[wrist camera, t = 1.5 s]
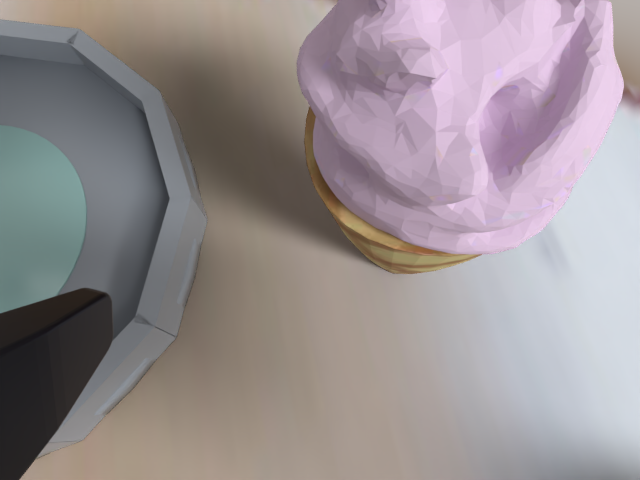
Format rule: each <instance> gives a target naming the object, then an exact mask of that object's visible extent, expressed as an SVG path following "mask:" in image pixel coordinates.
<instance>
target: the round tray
mask: <svg viewBox="0 0 640 480" xmlns="http://www.w3.org/2000/svg"><path fill="white" fill-rule="evenodd" d="M207 221H208V220H207V216H206V212H205V209H204V206H203V203H202V199H201V196H200V191H199V186H198V182H197V178H196V173H195V169H194V166H193V164H192V161H191V159H190V156H189V154H188V151H187V149H186V146H185V144H184V141H183V138H182V134H181V131H180V128H179V125H178V122H177V121H176V119H175V117H174V115H173V114H172V112H171V110H170V108H169V107H168V105H167V103H166V101H165V100H164V98H163V96H162V94H161V93H160V91H159V90H158V89H156V88H155V87H154V86H153V85H151V84H150V83H149V82H147V81H146V80H145V79H144V78H142V77H141V76H140V75H138V74H137V73H136V72H135V71H133V70H132V69H131V68H129V67H128V66H127V65H126V64H124V63H123V62H122V61H120V60H119V59H118V58H116V57H115V56H114V55H113V54H111V53H110V52H109V51H107V50H106V49H105V48H104V47H102V46H101V45H100V44H98V43H97V42H96V41H95V40H93V39H92V38H91V37H89V36H88V35H87V34H86V33H84V32H83V31H82V30H80V29H75V28H67V27H59V26H50V25H42V24H34V23H25V22H17V21H9V20H0V313H3V312H6V311H9V310H12V309H16V308H19V307H22V306H25V305H29V304H32V303H35V302H38V301H41V300H45V299H48V298H51V297H54V296H58V295H61V294H64V293H67V292H70V291H74V290H77V289H80V288H92V289H95V290H99V291H103V292H106V293H108V294H109V295H110V296H111V299H112V309H113V340H112V344H111V346H110V348H109V350H108V352H107V353H106V355H105V357H104V358H103V360H102V361H101V363H100V365H99V366H98V368H97V369H96V371H95V372H94V374H93V376H92V377H91V379H90V380H89V382H88V384H87V385H86V387H85V388H84V390H83V392H82V393H81V395H80V396H79V398H78V400H77V401H76V403H75V404H74V406H73V407H72V409H71V411H70V412H69V414H68V415H67V417H66V418H65V420H64V421H63V423H62V424H61V426H60V427H59V429H58V430H57V432H56V433H55V434H54V436H53V437H52V438H51V440H50V441H49V442H48V444H47V445H46V446H45V448H44V449H43V450H42V451H41V453H40V454H39V455H38V456H37V458H36V459H38V458H40V457H42V456H44V455H47V454H49V453H51V452H53V451H55V450H58V449H61V448H64V447H66V446H69V445H72V444H74V443H77V442H80V441H82V440H83V439H84V438H85V437H86V436H87V435H88V434H89V433H90V432H91V431H92V429H93V428H94V427H95V426H96V425H97V424H98V423H99V422H100V421H101V420H102V419H103V417H104V416H105V415H106V414H108V413H109V412H110V411H111V410H112V409H113V408H114V407H115V406H116V405H117V404H118V403H119V402H120V401H121V400H122V399H123V398H124V397H125V396H126V395H127V394H128V393H129V392H130V391H131V390H132V389H133V388H134V387H135V386H136V384H137V383H138V382H139V381H140V379H141V378H142V377H143V376H144V375H145V373H146V372H147V371H148V370H149V368H150V367H151V366H152V365H153V363H154V362H155V360H156V359H157V358H158V357H159V356H160V355H161V354H162V353H163V352H164V351H165V350H166V348H167V347H168V346H169V345H170V344H171V343H172V342H173V341H174V340H175V339H176V337H177V334H178V330H179V327H180V323H181V319H182V315H183V312H184V308H185V306H186V303H187V300H188V297H189V294H190V291H191V288H192V285H193V282H194V279H195V275H196V270H197V265H198V259H199V254H200V249H201V243H202V240H203V236H204V232H205V228H206V225H207Z"/></svg>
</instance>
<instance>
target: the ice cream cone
mask: <svg viewBox="0 0 640 480" xmlns="http://www.w3.org/2000/svg"><path fill="white" fill-rule="evenodd" d="M297 76H298V81H299V84H300V88H301V91H302V94H303V95H304V97H305V98H306V100H307V101H308V103H309V105H310V107H309V110H308V114H307V118H306V127H305V139H304V144H305V152H306V161H307V167H308V170H309V173H310V175H311V178H312V181H313V184H314V187H315V189H316V190H317V192H318V194H319V195H320V197H321V198H322V200H323V202H324V203H325V205H326V206H327V208H328V210H329V211H330V213H331V214H332V216H333V217H334V219H335V220H336V222H337V223H338V225H339V227H340V228H341V230H342V231H343V233H344V234H345V236H346V237H347V238H348V239H349V240H350V241H351V242H352V243H353V244H354V245H355V246H356V247H357V248H358V249H359V250H360V251H361V252H362V253H363V254H364V255H365V256H366V257H367V258H368V259H370V260H371V261H372V262H373V263H375V264H377V265H378V266H380V267H381V268H383V269H385V270H387V271H389V272H391V273H397V274H415V273H423V272H430V271H436V270H439V269H443V268H447V267H450V266H453V265H457V264H460V263H463V262H466V261H469V260H471V259H473V258H476V257H478V256H480V255H482V254H494V253H498V252H502V251H506V250H509V249H513V248H516V247H517V246H519V245H520V244H522V243H523V242H524V241H526V240H527V239H529V238H530V237H532V236H534V235H536V234H537V233H539V232H540V231H541V230H543V229H544V228H545V226H546V225H547V224H548V223H549V222H550V220H551V219H552V218H553V217H554V216H555V214H556V213H557V212H558V211H559V210H560V208H561V207H562V206H563V205H564V204H565V202H566V201H567V199H568V197H569V195H570V193H571V191H572V188H573V185H574V184H575V183H576V182H577V180H578V179H579V178H580V177H581V175H582V174H583V172H584V171H585V169H586V168H587V166H588V164H589V163H590V161H591V160H592V158H593V157H594V155H595V154H596V152H597V150H598V148H599V147H600V145H601V143H602V141H603V139H604V137H605V135H606V133H607V130H608V128H609V126H610V124H611V122H612V120H613V118H614V115H615V112H616V109H617V106H618V104H619V102H620V101H621V98H622V93H623V88H624V84H623V78H622V75H621V72H620V69H619V66H618V64H617V61H616V58H615V55H614V49H613V17H612V6H611V2H609V1H608V0H338V2H337V4H336V5H335V6H334V7H333V8H332V10H331V11H330V12H329V13H328V14H327V15H326V16H325V18H324V19H323V20H322V21H321V22H320V23H319V24H318V25H317V26H316V27H315V29H314V30H313V31H312V32H311V33H310V34H309V35H308V36H307V37H306V39H305V41H304V43H303V44H302V46H301V48H300V51H299V55H298V60H297Z"/></svg>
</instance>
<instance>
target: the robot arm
mask: <svg viewBox="0 0 640 480" xmlns="http://www.w3.org/2000/svg"><path fill="white" fill-rule="evenodd" d="M112 340H113V309H112V299H111V296H110V295H109V294H108V293H106V292H103V291H99V290H95V289H92V288H80V289H77V290H74V291H70V292H67V293H64V294H61V295H58V296H54V297H51V298H48V299H45V300H41V301H38V302H35V303H32V304H29V305H25V306H22V307H19V308H16V309H12V310H9V311H6V312H3V313H0V480H19V479H20V478H21V477H22V476H23V474H24V473H25V472H26V471H27V469H28V468H29V467H30V465H31V464H32V463H33V462H34V460H35V459H36V458H37V456H38V455H39V454H40V453H41V451H42V450H43V449H44V448H45V446H46V445H47V444H48V442H49V441H50V440H51V438H52V437H53V436H54V434H55V433H56V432H57V430H58V429H59V427H60V426H61V424H62V423H63V421H64V420H65V418H66V417H67V415H68V414H69V412H70V411H71V409H72V407H73V406H74V404H75V403H76V401H77V400H78V398H79V396H80V395H81V393H82V392H83V390H84V388H85V387H86V385H87V384H88V382H89V380H90V379H91V377H92V376H93V374H94V372H95V371H96V369H97V368H98V366H99V365H100V363H101V361H102V360H103V358H104V357H105V355H106V353H107V352H108V350H109V348H110V346H111V344H112Z"/></svg>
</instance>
